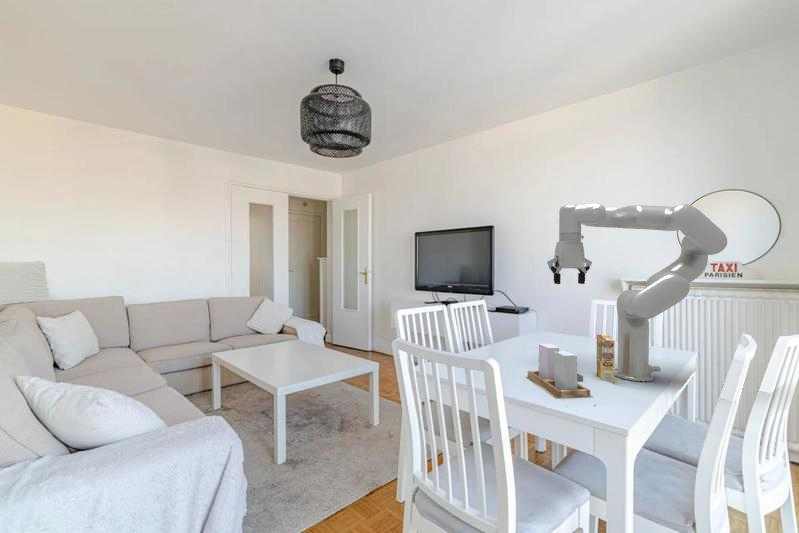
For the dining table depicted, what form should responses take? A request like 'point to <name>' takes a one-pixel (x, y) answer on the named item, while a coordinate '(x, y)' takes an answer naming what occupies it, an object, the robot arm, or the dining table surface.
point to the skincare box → (565, 370)
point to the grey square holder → (579, 378)
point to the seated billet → (546, 360)
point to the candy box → (605, 358)
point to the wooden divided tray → (550, 388)
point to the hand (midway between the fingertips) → (569, 283)
